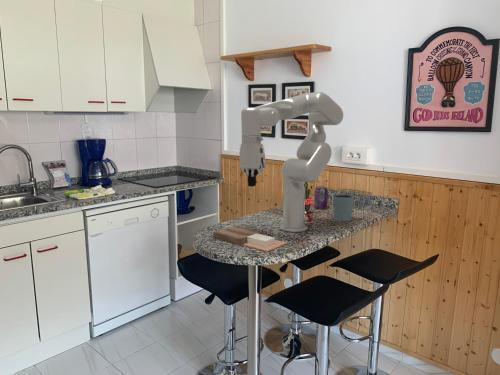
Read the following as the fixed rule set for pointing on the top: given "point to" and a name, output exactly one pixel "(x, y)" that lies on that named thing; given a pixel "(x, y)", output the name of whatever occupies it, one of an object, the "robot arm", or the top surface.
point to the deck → (235, 234)
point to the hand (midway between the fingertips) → (252, 185)
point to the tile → (260, 240)
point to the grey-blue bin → (343, 207)
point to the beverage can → (321, 197)
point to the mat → (268, 248)
